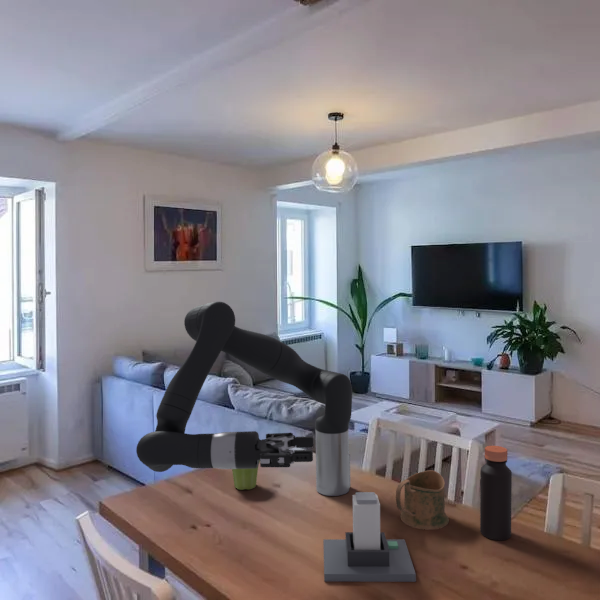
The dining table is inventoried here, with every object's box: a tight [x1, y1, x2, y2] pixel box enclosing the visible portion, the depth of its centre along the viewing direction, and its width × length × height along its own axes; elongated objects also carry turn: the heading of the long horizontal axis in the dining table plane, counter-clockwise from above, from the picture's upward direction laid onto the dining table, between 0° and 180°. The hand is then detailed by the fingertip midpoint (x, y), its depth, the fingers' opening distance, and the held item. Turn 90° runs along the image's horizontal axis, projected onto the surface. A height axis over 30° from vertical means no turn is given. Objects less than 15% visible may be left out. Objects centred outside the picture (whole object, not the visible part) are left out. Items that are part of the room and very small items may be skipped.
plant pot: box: [231, 460, 260, 491], centre depth 157 cm, size 9×9×9 cm
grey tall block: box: [352, 491, 381, 550], centre depth 115 cm, size 5×5×13 cm
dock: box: [323, 531, 417, 583], centre depth 115 cm, size 18×14×4 cm
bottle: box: [479, 445, 513, 541], centre depth 127 cm, size 7×7×20 cm
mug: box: [395, 469, 450, 531], centre depth 133 cm, size 12×18×12 cm, turn 137°
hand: (313, 448), depth 115 cm, fingers open, 8 cm apart
